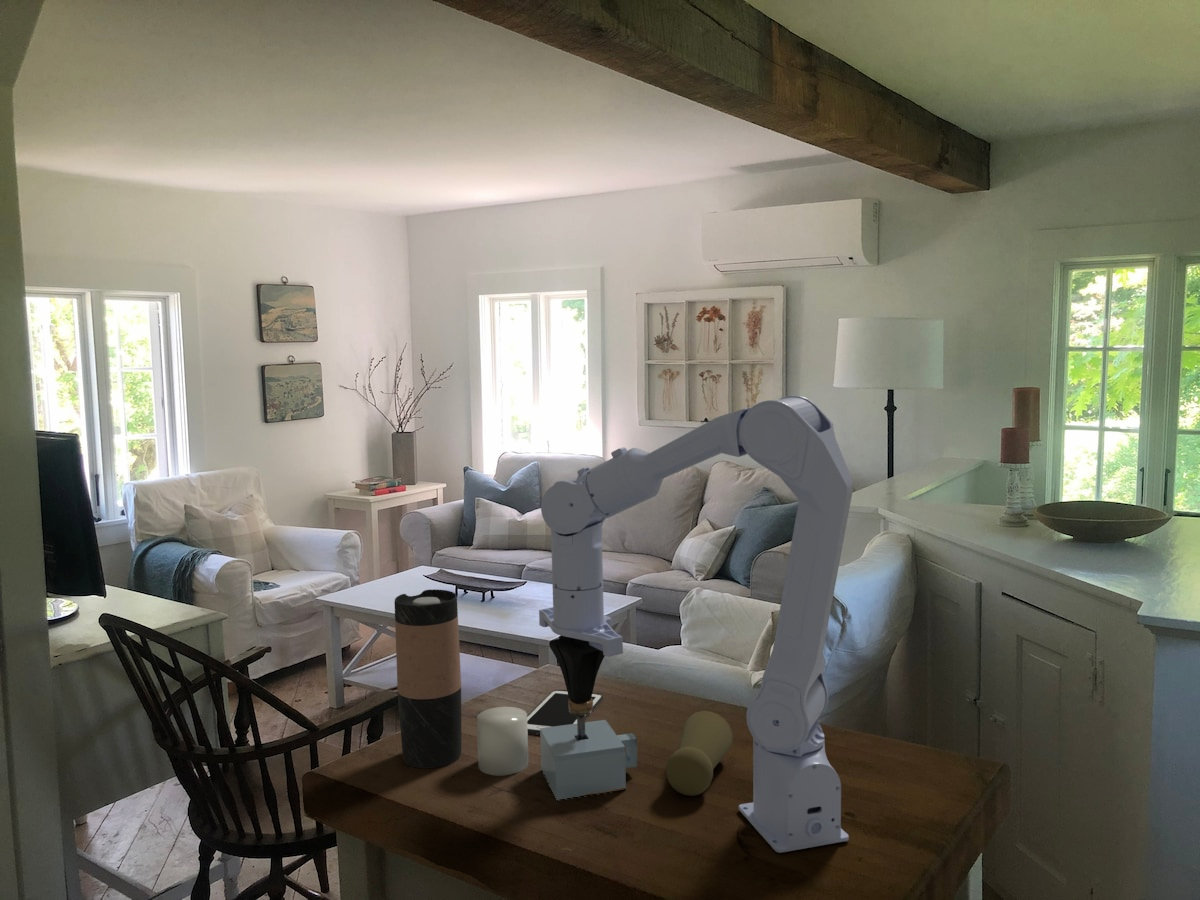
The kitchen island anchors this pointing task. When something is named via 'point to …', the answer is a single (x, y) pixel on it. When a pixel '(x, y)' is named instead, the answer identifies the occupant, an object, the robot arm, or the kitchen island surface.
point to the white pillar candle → (502, 740)
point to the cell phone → (555, 711)
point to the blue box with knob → (586, 759)
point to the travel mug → (428, 678)
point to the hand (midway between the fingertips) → (580, 700)
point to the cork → (698, 752)
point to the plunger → (581, 715)
